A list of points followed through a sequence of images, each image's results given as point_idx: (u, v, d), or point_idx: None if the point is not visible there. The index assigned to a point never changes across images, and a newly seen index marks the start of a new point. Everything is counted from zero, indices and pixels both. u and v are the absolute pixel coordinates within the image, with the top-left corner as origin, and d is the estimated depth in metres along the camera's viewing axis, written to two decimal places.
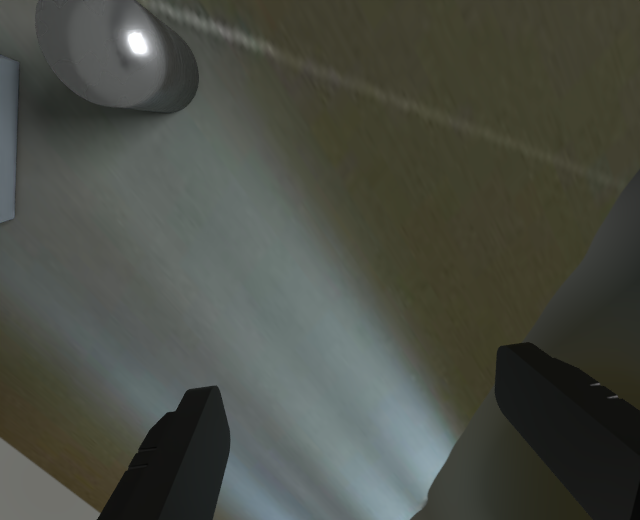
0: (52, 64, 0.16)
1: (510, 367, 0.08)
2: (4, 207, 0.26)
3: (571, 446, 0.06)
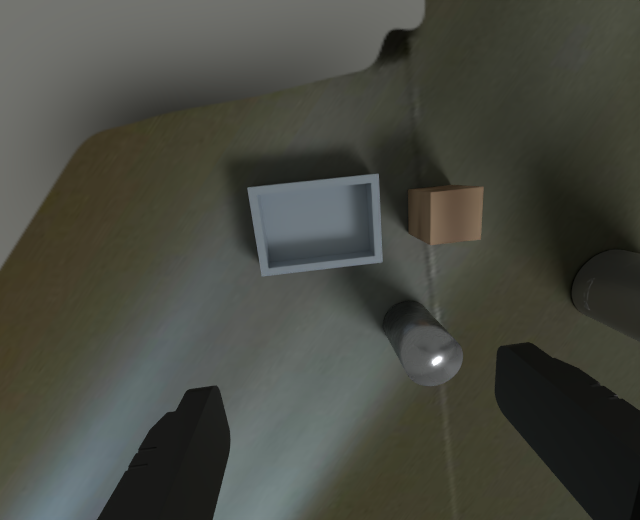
0: (415, 345, 0.29)
1: (510, 367, 0.08)
2: None
3: (571, 446, 0.06)
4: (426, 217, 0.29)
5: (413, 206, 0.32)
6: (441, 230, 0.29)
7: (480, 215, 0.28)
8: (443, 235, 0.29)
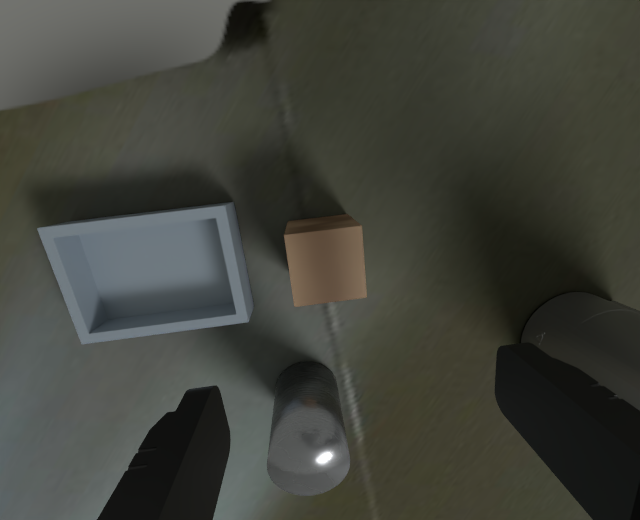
0: (278, 446, 0.21)
1: (510, 367, 0.08)
2: None
3: (572, 446, 0.06)
4: None
5: None
6: (308, 287, 0.20)
7: (362, 265, 0.20)
8: (312, 294, 0.20)
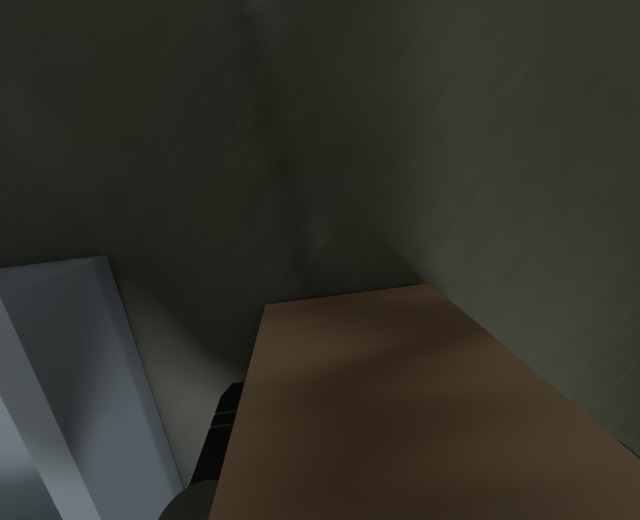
0: None
1: None
2: None
3: None
4: None
5: None
6: None
7: None
8: None
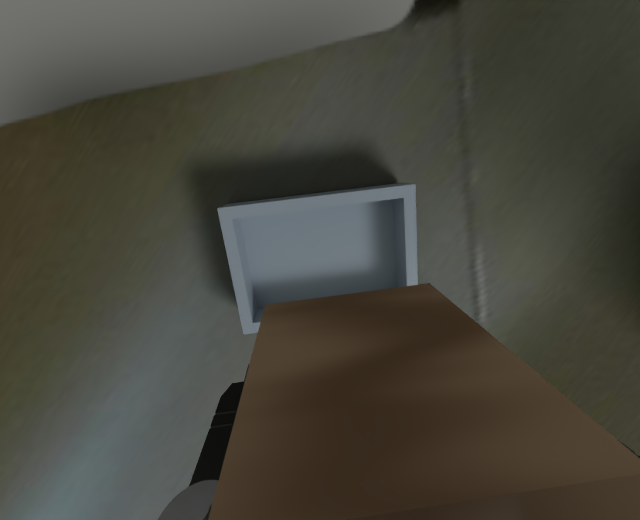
0: None
1: None
2: None
3: None
4: None
5: None
6: None
7: None
8: None
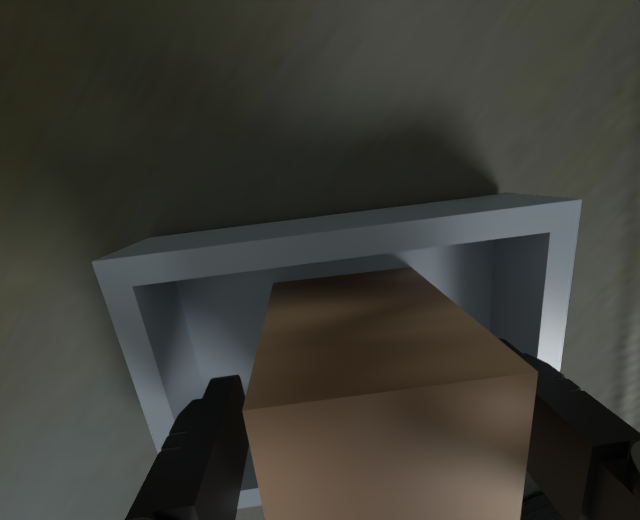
0: None
1: None
2: None
3: (534, 435, 0.07)
4: None
5: None
6: None
7: (516, 489, 0.06)
8: None
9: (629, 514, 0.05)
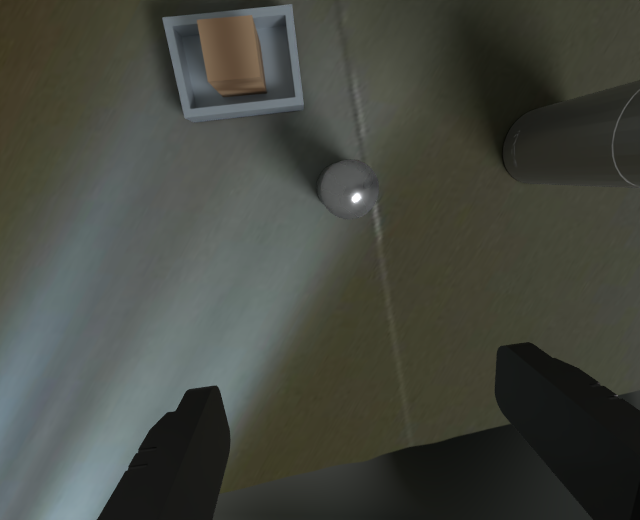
0: (329, 171, 0.30)
1: (510, 367, 0.08)
2: (202, 119, 0.34)
3: (571, 446, 0.06)
4: None
5: None
6: (216, 65, 0.28)
7: (255, 48, 0.28)
8: (219, 71, 0.28)
9: None
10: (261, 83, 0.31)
